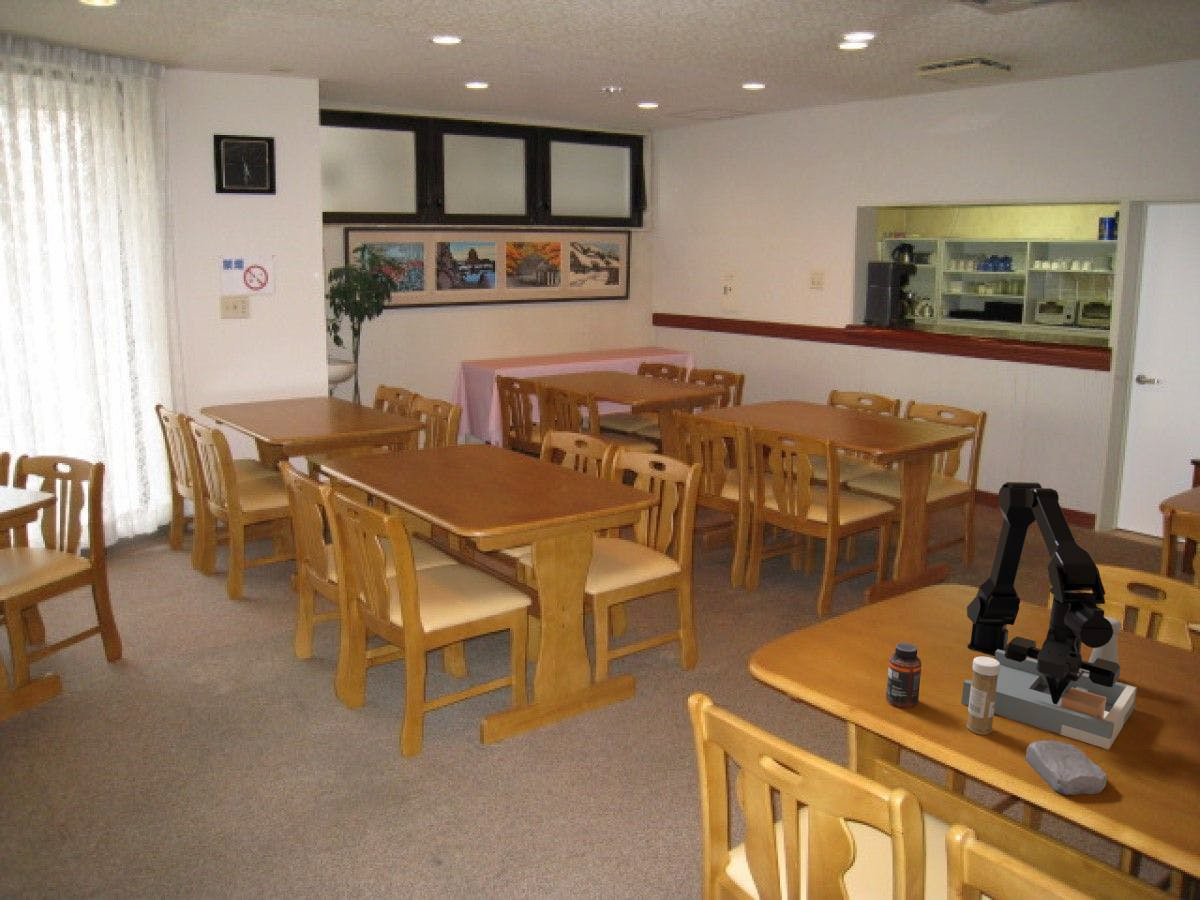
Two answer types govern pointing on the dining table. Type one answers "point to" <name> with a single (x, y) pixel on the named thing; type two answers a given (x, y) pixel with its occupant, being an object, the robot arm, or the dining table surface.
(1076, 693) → the terracotta block
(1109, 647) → the salt shaker
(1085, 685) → the box
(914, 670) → the supplement bottle
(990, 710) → the sprinkles bottle
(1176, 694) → the dining table surface
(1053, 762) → the stone block
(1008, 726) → the dining table surface
